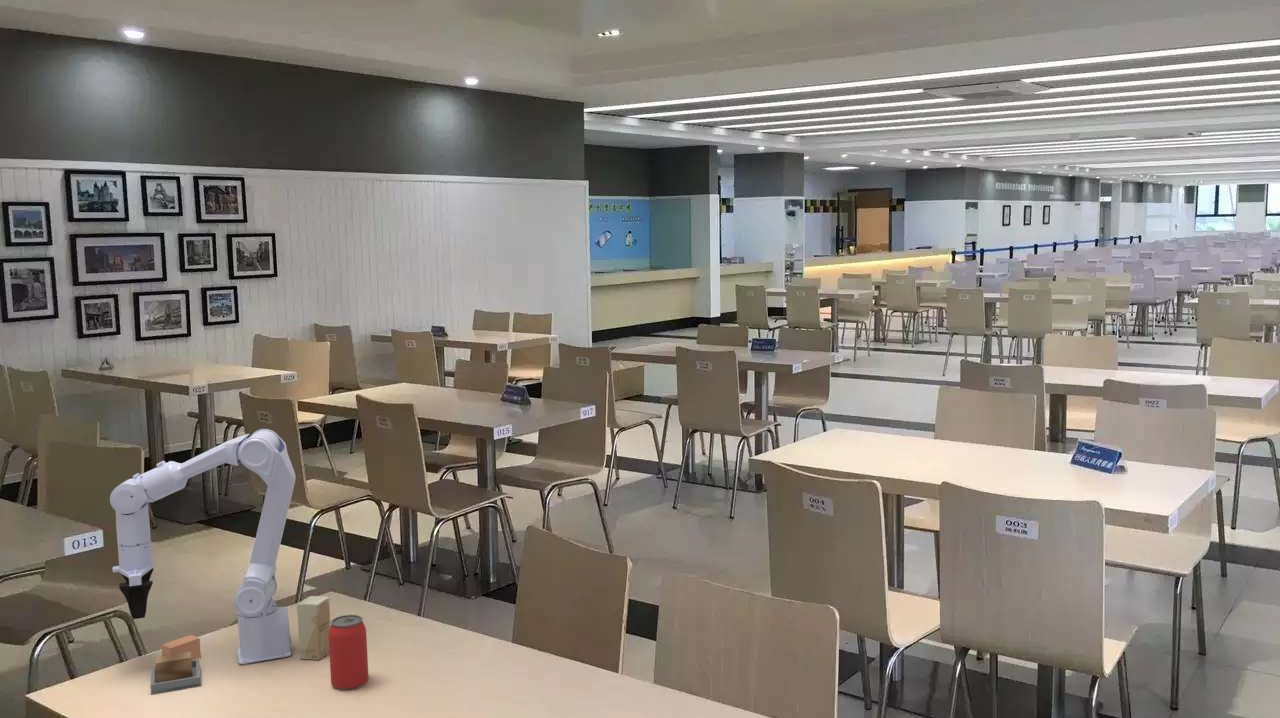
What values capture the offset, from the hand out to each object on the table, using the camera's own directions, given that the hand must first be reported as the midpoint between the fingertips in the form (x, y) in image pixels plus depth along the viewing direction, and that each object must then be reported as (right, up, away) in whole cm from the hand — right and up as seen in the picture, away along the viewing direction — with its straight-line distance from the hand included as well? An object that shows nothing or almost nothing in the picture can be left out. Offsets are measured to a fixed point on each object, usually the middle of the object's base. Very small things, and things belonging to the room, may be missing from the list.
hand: (139, 611), depth 198 cm
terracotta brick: (+7, -10, +3) cm, 13 cm away
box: (+33, -10, +4) cm, 34 cm away
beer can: (+43, -11, -10) cm, 46 cm away
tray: (+10, -11, -7) cm, 17 cm away
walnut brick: (+10, -11, -7) cm, 16 cm away
